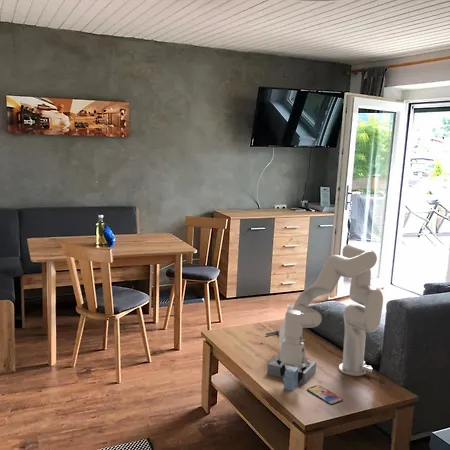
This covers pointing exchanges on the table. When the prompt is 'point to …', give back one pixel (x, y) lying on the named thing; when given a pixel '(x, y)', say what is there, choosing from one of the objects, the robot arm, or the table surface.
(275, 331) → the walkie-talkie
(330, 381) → the table surface
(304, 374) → the plate
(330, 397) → the smartphone
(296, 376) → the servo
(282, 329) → the bottle
